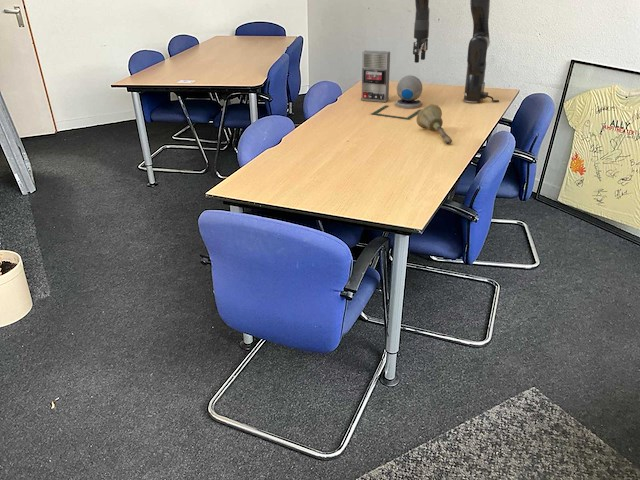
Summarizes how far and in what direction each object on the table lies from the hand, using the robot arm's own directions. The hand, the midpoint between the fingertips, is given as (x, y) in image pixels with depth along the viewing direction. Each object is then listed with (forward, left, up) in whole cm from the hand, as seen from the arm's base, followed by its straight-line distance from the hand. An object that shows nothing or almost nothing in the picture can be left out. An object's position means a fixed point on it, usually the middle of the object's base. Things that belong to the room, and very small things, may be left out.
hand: (419, 61), depth 282 cm
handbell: (-34, +57, -19) cm, 69 cm away
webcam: (-2, +17, -19) cm, 26 cm away
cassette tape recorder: (+18, +16, -19) cm, 31 cm away
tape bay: (-2, +31, -19) cm, 36 cm away
